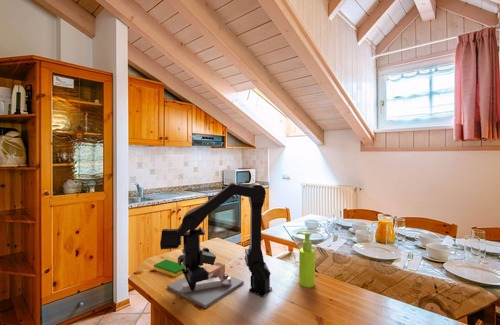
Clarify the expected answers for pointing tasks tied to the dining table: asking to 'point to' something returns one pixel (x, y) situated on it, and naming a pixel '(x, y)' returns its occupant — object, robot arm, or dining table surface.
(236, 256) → the butter knife
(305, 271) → the soap dispenser
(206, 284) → the lever
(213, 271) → the block
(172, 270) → the dish sponge
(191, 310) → the dining table surface
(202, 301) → the base plate
